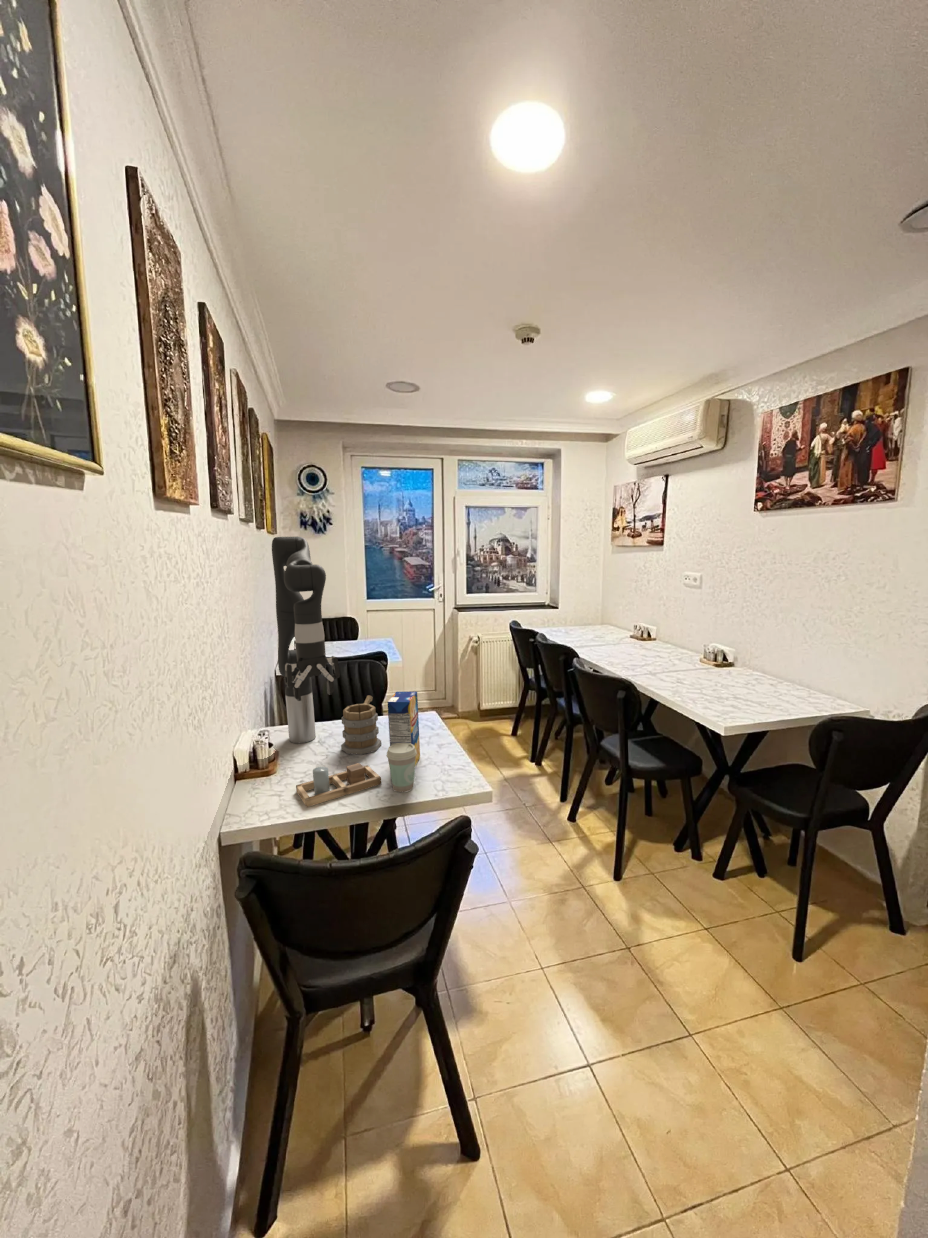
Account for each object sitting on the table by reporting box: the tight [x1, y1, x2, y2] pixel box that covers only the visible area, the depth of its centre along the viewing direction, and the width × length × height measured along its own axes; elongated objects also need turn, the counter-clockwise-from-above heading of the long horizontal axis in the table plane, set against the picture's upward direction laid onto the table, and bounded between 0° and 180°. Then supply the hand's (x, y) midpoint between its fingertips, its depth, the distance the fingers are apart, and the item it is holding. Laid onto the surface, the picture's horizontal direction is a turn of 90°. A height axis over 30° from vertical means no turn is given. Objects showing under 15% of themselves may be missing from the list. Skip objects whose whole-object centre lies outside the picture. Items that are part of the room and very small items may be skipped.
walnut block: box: [346, 762, 366, 785], centre depth 144 cm, size 4×4×5 cm
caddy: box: [295, 765, 382, 808], centre depth 142 cm, size 10×22×2 cm, turn 124°
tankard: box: [340, 695, 382, 756], centre depth 174 cm, size 20×13×15 cm, turn 171°
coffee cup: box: [386, 743, 417, 793], centre depth 140 cm, size 8×8×12 cm
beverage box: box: [387, 691, 421, 767], centre depth 155 cm, size 7×11×22 cm, turn 173°
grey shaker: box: [312, 766, 331, 796], centre depth 139 cm, size 4×4×7 cm
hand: (314, 697), depth 135 cm, fingers open, 8 cm apart
